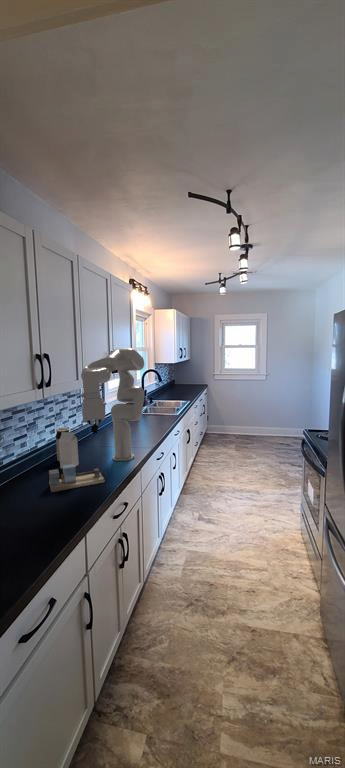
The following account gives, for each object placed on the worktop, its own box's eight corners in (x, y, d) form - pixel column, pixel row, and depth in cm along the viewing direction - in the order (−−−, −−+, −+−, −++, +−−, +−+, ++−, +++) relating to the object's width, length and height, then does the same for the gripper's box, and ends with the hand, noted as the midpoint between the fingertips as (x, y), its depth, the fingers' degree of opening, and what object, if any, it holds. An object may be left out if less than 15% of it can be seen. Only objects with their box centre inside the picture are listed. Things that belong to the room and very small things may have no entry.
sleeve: (63, 479, 165) (62, 465, 164) (74, 477, 167) (73, 463, 166) (65, 483, 159) (64, 468, 158) (76, 481, 161) (75, 467, 160)
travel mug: (60, 457, 204) (58, 427, 203) (73, 457, 204) (71, 427, 202) (55, 462, 197) (53, 431, 195) (69, 461, 196) (67, 430, 194)
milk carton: (72, 469, 184) (70, 434, 182) (60, 468, 185) (58, 434, 183) (78, 464, 191) (76, 430, 189) (67, 464, 192) (64, 430, 190)
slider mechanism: (49, 484, 164) (48, 469, 163) (100, 475, 174) (99, 460, 173) (51, 492, 155) (50, 475, 154) (104, 482, 165) (103, 466, 164)
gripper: (77, 398, 159) (80, 437, 162) (109, 395, 165) (112, 432, 167) (74, 396, 166) (78, 433, 169) (105, 392, 172) (108, 428, 174)
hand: (94, 432), depth 168 cm, fingers closed
